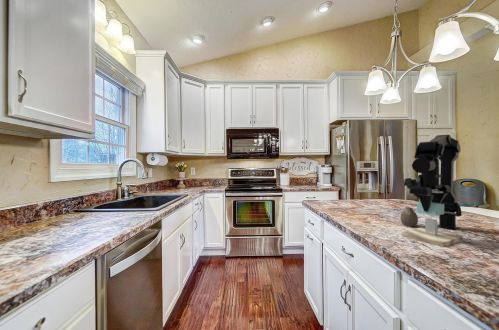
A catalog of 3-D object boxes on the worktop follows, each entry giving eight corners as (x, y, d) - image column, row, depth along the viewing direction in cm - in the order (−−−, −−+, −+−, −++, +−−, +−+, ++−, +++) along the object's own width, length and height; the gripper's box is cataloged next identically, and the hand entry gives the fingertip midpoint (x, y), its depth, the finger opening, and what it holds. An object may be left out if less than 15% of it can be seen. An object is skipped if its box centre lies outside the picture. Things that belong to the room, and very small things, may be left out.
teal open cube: (444, 213, 87) (444, 203, 87) (435, 215, 84) (435, 204, 84) (425, 210, 92) (425, 200, 92) (417, 212, 90) (416, 202, 90)
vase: (421, 228, 101) (421, 209, 101) (404, 227, 103) (404, 208, 103) (413, 224, 108) (413, 206, 108) (397, 223, 110) (397, 206, 110)
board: (421, 230, 98) (421, 227, 98) (462, 240, 85) (462, 236, 85) (401, 235, 91) (401, 232, 91) (443, 246, 78) (443, 242, 78)
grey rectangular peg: (427, 232, 90) (427, 218, 90) (437, 235, 87) (437, 220, 87) (425, 233, 89) (425, 218, 89) (435, 235, 86) (435, 220, 86)
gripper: (420, 171, 99) (420, 205, 99) (395, 172, 91) (395, 209, 91) (451, 171, 89) (451, 209, 89) (426, 173, 81) (426, 214, 81)
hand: (430, 210), depth 88 cm, fingers closed on teal open cube, 6 cm apart
